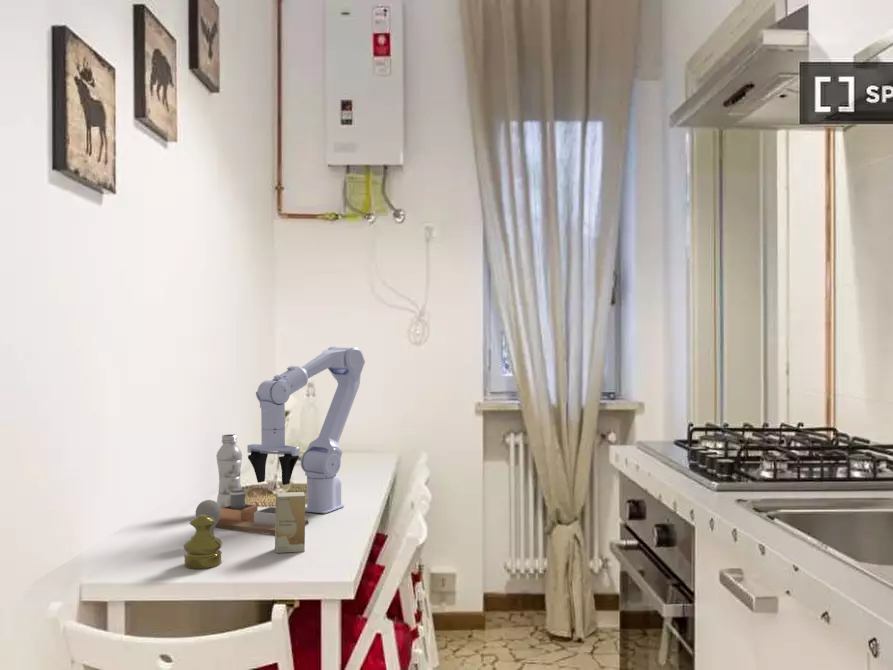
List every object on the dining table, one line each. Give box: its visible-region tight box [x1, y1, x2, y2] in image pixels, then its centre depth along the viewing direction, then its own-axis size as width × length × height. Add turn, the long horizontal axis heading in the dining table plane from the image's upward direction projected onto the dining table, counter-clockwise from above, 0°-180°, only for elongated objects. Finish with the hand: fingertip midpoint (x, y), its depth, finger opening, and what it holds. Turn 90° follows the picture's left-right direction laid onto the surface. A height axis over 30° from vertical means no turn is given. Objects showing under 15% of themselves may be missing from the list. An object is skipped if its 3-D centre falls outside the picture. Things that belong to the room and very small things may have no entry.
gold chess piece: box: [183, 515, 223, 570], centre depth 168 cm, size 7×7×10 cm
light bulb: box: [195, 499, 221, 536], centre depth 183 cm, size 5×5×10 cm
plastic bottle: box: [216, 433, 243, 508], centre depth 216 cm, size 6×7×20 cm
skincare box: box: [274, 491, 307, 554], centre depth 178 cm, size 6×4×12 cm
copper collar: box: [219, 503, 258, 523], centre depth 204 cm, size 6×6×3 cm
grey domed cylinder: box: [230, 488, 246, 510], centre depth 203 cm, size 4×4×7 cm
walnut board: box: [214, 519, 309, 536], centre depth 201 cm, size 12×22×1 cm, turn 65°
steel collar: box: [254, 506, 276, 527], centre depth 199 cm, size 6×6×3 cm
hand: (273, 483), depth 206 cm, fingers open, 7 cm apart
